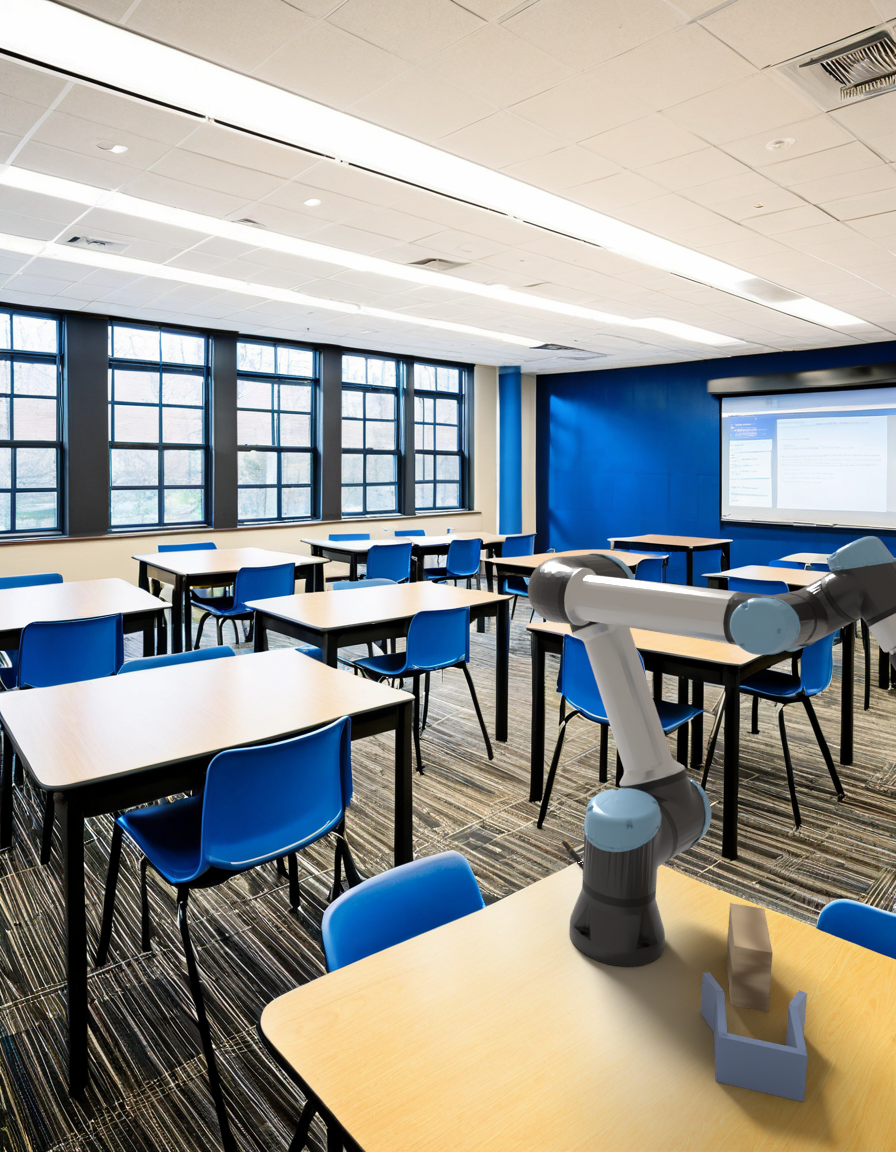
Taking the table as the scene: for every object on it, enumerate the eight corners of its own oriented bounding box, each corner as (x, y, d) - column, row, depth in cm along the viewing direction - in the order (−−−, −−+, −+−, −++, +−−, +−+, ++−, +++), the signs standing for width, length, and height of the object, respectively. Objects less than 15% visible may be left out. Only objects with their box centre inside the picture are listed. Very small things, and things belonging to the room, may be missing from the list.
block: (730, 1004, 109) (734, 945, 108) (726, 956, 121) (730, 902, 120) (768, 1012, 108) (772, 952, 107) (760, 963, 119) (764, 908, 118)
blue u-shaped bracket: (701, 1078, 95) (704, 1033, 95) (700, 1010, 108) (702, 971, 107) (818, 1105, 92) (822, 1059, 91) (803, 1032, 104) (806, 991, 103)
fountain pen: (593, 877, 145) (594, 870, 145) (588, 878, 144) (588, 870, 144) (565, 843, 159) (565, 836, 158) (559, 843, 158) (560, 836, 158)
